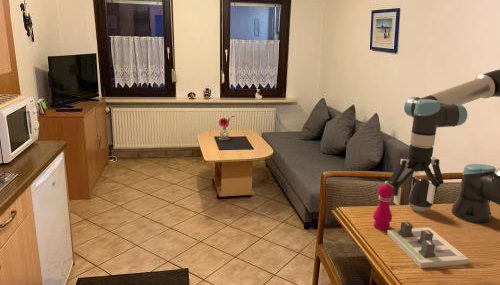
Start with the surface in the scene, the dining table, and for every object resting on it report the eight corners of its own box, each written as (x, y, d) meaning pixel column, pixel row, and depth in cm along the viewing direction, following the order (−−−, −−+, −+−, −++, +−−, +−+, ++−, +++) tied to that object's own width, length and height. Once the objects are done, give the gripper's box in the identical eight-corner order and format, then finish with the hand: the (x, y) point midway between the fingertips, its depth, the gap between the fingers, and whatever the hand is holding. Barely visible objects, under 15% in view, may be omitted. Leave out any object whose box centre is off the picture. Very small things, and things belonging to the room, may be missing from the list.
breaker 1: (408, 231, 154) (410, 221, 153) (413, 236, 151) (414, 225, 150) (398, 232, 153) (399, 221, 152) (402, 236, 150) (403, 225, 149)
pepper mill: (391, 231, 158) (398, 185, 153) (373, 229, 160) (378, 183, 154) (389, 223, 165) (395, 178, 160) (371, 221, 167) (376, 177, 161)
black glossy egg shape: (412, 202, 186) (416, 172, 182) (435, 210, 179) (440, 178, 175) (402, 209, 179) (407, 177, 175) (425, 216, 172) (430, 184, 168)
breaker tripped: (428, 240, 148) (430, 229, 147) (433, 244, 145) (435, 233, 144) (417, 241, 147) (419, 230, 146) (422, 245, 144) (424, 234, 143)
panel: (428, 231, 159) (429, 226, 159) (467, 264, 137) (468, 258, 137) (386, 234, 156) (387, 229, 156) (420, 268, 134) (421, 262, 134)
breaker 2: (429, 251, 141) (431, 239, 140) (435, 256, 138) (437, 244, 137) (418, 252, 140) (420, 240, 139) (423, 257, 137) (425, 245, 136)
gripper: (447, 141, 140) (437, 197, 146) (383, 142, 137) (376, 200, 142) (461, 147, 133) (450, 205, 139) (393, 149, 129) (386, 209, 135)
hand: (413, 202), depth 141 cm, fingers open, 12 cm apart
